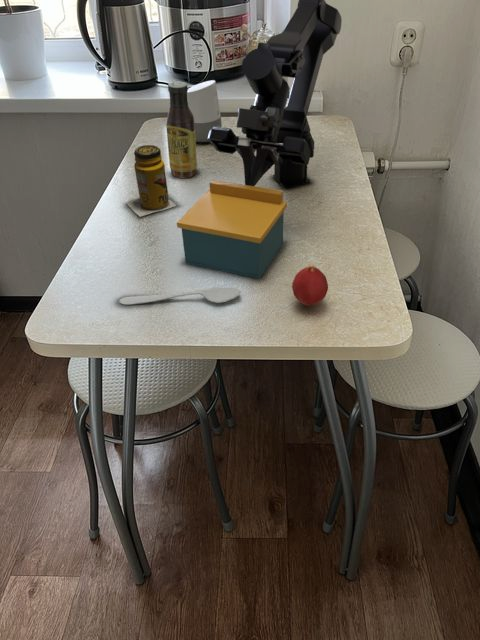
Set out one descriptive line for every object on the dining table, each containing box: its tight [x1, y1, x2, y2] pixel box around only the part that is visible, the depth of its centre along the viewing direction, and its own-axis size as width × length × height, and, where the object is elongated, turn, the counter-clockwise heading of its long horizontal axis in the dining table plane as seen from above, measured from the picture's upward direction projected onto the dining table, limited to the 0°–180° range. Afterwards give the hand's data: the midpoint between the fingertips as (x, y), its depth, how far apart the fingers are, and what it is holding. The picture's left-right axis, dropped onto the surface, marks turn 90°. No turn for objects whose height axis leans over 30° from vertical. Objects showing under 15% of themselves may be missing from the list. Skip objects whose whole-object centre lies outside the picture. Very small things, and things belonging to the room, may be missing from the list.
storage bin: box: [180, 211, 285, 280], centre depth 106 cm, size 13×15×8 cm
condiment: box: [125, 144, 177, 218], centre depth 120 cm, size 7×8×12 cm
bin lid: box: [176, 179, 288, 243], centre depth 103 cm, size 14×16×3 cm
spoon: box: [118, 287, 242, 306], centre depth 98 cm, size 4×21×2 cm, turn 92°
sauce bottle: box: [165, 80, 198, 179], centre depth 128 cm, size 7×6×20 cm
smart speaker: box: [187, 79, 222, 144], centre depth 146 cm, size 10×9×14 cm
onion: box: [291, 264, 329, 307], centre depth 94 cm, size 6×6×8 cm
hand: (248, 189), depth 107 cm, fingers closed
